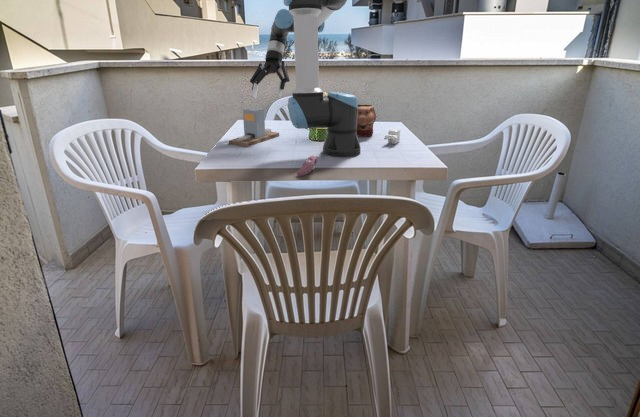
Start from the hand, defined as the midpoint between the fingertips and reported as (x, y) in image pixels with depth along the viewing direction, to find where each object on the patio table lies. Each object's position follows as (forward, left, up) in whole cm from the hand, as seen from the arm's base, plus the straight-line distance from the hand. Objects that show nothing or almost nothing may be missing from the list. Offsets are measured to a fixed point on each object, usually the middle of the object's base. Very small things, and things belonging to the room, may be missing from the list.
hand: (265, 96), depth 185 cm
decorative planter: (-3, -45, -18) cm, 48 cm away
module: (-6, +6, -16) cm, 19 cm away
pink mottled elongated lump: (-58, -9, -18) cm, 62 cm away
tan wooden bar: (-6, +6, -16) cm, 19 cm away
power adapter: (-24, -52, -18) cm, 60 cm away
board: (-6, +6, -18) cm, 20 cm away
